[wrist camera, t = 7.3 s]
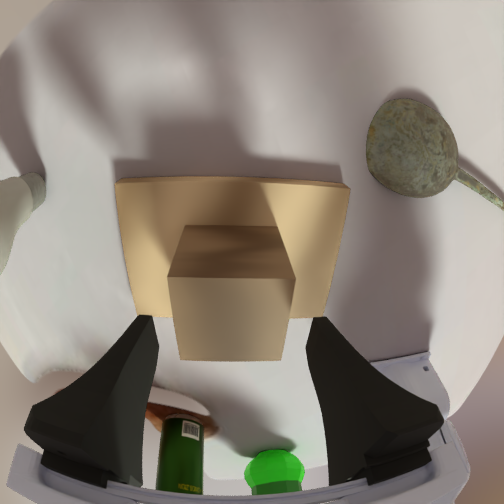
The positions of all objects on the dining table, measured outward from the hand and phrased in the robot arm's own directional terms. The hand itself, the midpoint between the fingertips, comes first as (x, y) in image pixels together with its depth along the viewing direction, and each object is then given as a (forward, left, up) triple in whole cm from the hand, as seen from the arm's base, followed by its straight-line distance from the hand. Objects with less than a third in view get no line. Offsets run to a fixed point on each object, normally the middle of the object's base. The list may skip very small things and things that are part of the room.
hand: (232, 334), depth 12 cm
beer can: (+6, +25, -8) cm, 27 cm away
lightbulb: (+14, -5, -8) cm, 17 cm away
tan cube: (0, 0, -6) cm, 6 cm away
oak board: (0, 0, -8) cm, 8 cm away
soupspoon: (-19, -7, -8) cm, 22 cm away
